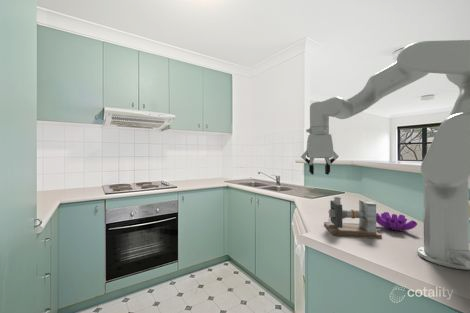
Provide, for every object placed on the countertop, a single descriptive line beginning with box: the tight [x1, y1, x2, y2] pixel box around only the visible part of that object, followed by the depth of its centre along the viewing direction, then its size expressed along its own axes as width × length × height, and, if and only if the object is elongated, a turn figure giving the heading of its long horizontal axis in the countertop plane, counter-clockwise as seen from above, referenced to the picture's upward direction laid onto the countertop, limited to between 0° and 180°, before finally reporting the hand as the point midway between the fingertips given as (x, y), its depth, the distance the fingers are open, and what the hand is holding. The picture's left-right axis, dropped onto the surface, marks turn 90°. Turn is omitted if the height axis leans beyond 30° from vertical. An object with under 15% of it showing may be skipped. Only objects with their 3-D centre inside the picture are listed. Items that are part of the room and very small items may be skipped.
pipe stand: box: [323, 199, 383, 239], centre depth 87 cm, size 14×17×12 cm
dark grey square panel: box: [330, 200, 343, 228], centre depth 88 cm, size 9×2×9 cm, turn 171°
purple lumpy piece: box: [376, 211, 418, 231], centre depth 90 cm, size 11×15×10 cm
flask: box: [333, 196, 345, 219], centre depth 109 cm, size 7×7×10 cm
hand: (319, 173), depth 89 cm, fingers open, 5 cm apart
